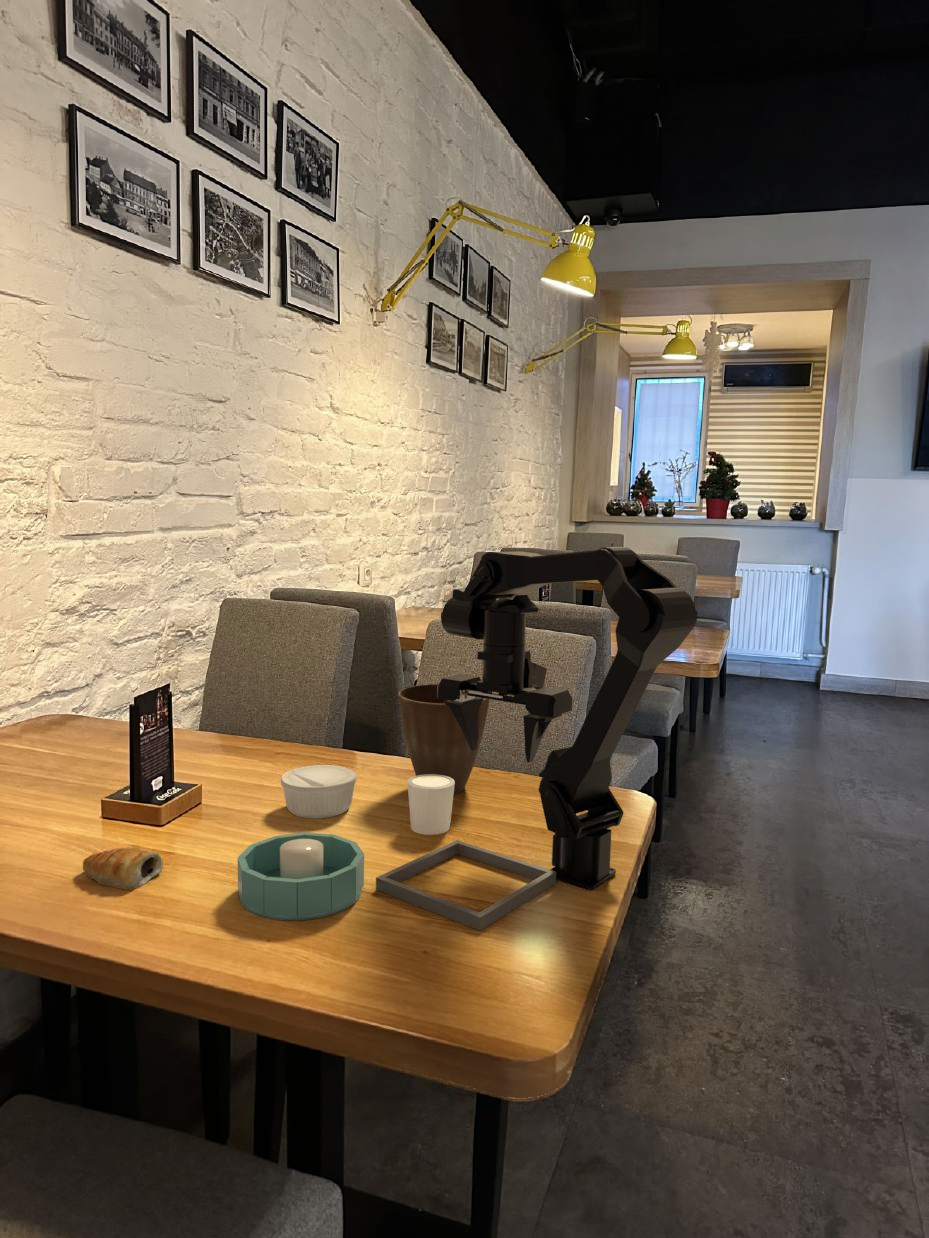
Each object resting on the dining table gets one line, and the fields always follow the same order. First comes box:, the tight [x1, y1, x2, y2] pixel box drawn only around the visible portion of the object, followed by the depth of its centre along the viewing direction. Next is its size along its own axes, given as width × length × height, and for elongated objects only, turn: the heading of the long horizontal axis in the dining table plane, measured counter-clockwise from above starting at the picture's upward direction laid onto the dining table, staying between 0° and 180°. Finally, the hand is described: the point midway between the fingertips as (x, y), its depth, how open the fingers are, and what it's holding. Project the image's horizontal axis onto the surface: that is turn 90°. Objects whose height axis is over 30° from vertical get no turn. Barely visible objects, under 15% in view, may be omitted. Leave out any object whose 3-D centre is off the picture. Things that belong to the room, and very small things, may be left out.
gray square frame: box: [375, 839, 557, 931], centre depth 102 cm, size 16×16×2 cm
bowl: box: [237, 832, 365, 922], centre depth 100 cm, size 14×14×4 cm
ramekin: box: [280, 764, 357, 819], centre depth 128 cm, size 11×11×5 cm
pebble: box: [280, 839, 323, 879], centre depth 99 cm, size 5×5×5 cm
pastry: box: [82, 846, 164, 890], centre depth 103 cm, size 9×7×4 cm
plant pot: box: [398, 683, 490, 794], centre depth 138 cm, size 15×15×16 cm
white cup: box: [406, 774, 455, 836], centre depth 121 cm, size 7×7×7 cm
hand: (501, 755), depth 116 cm, fingers open, 9 cm apart
